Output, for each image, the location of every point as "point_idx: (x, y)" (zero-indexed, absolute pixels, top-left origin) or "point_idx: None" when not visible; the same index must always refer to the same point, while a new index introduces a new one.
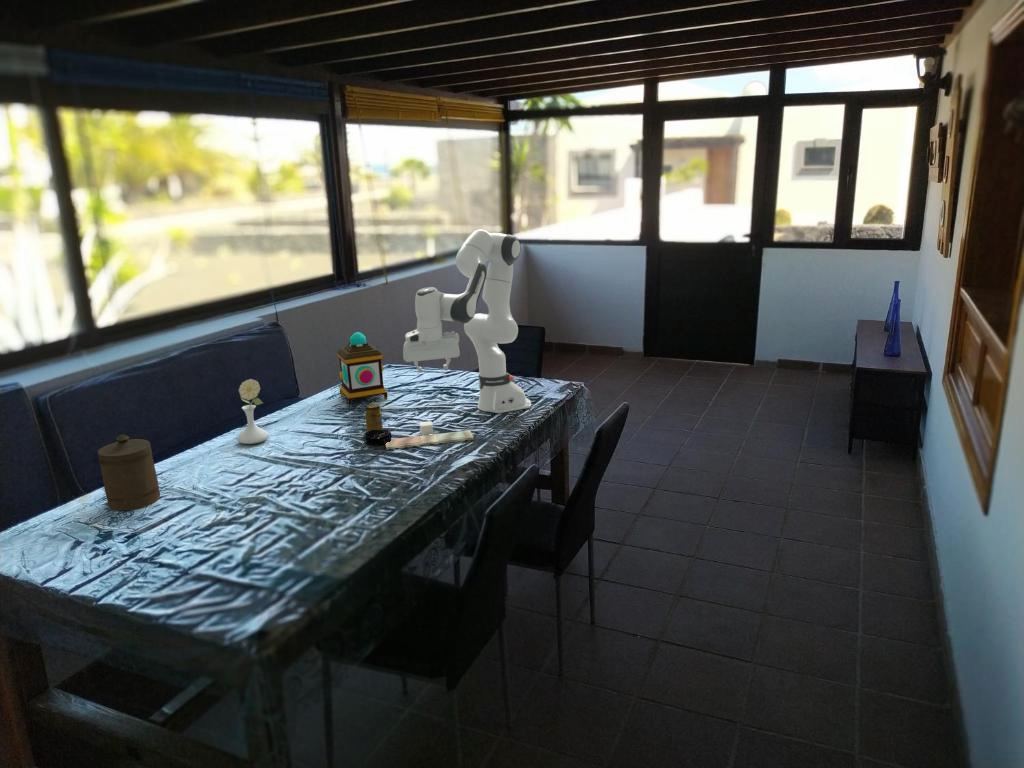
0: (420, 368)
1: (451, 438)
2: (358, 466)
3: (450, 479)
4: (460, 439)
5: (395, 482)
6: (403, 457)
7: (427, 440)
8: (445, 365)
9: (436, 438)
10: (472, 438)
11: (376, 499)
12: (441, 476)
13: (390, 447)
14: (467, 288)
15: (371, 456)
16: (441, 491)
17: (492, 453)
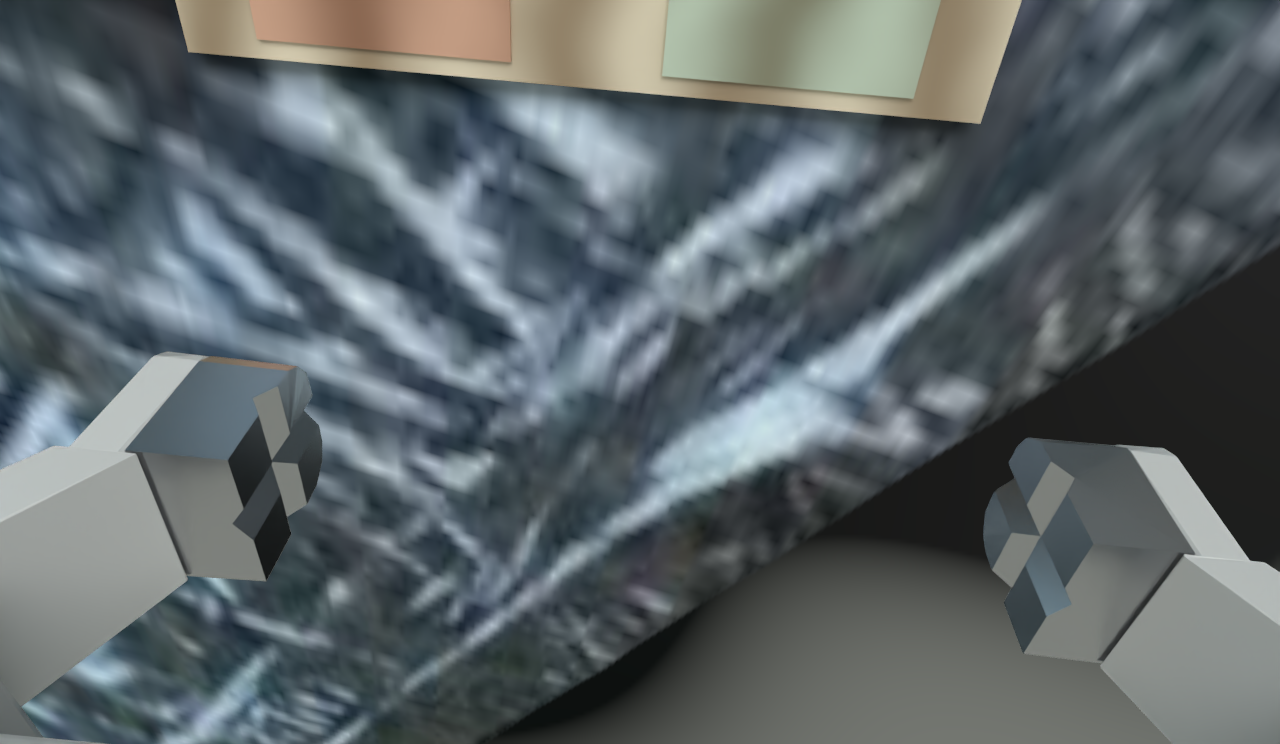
0: (224, 570)
1: (785, 84)
2: (60, 285)
3: (609, 592)
4: (858, 110)
5: (338, 538)
6: (361, 253)
7: (566, 26)
8: (1087, 648)
9: (657, 7)
10: (966, 120)
11: (270, 635)
12: (572, 556)
13: (228, 54)
14: None
15: (102, 141)
16: (547, 660)
17: (954, 407)
